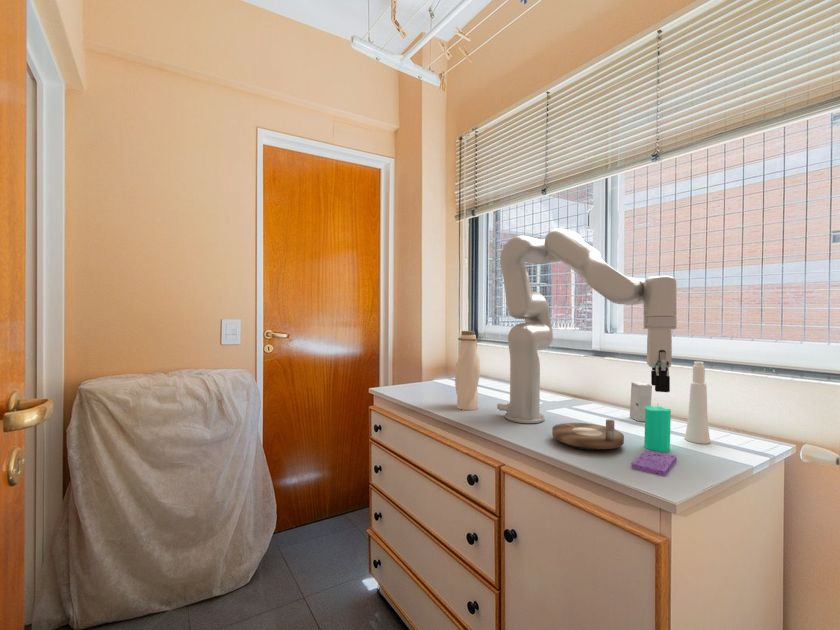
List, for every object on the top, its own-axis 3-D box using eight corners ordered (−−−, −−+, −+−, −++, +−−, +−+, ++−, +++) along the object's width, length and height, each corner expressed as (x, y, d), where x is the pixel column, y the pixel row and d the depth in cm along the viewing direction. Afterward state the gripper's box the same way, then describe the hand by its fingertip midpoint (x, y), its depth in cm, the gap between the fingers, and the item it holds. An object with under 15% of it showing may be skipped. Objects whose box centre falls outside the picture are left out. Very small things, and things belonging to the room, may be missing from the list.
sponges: (676, 463, 101) (677, 455, 101) (665, 478, 92) (665, 470, 92) (644, 456, 106) (644, 448, 106) (630, 470, 96) (630, 462, 96)
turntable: (538, 432, 118) (538, 409, 118) (586, 425, 126) (586, 403, 126) (587, 452, 102) (588, 425, 102) (639, 443, 109) (639, 418, 109)
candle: (673, 452, 107) (674, 405, 107) (648, 450, 108) (649, 404, 108) (665, 445, 113) (666, 400, 113) (640, 443, 114) (641, 399, 114)
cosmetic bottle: (681, 439, 117) (682, 361, 117) (688, 435, 121) (690, 360, 121) (706, 445, 113) (708, 364, 112) (713, 441, 117) (715, 362, 116)
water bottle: (455, 403, 160) (456, 330, 159) (479, 404, 158) (480, 330, 158) (454, 410, 149) (454, 331, 149) (479, 411, 148) (480, 332, 148)
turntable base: (561, 446, 111) (561, 441, 111) (565, 434, 122) (565, 429, 122) (611, 453, 106) (611, 447, 106) (611, 439, 117) (611, 434, 117)
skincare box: (629, 416, 142) (629, 381, 142) (642, 417, 142) (643, 381, 142) (637, 421, 136) (638, 384, 136) (651, 422, 136) (652, 384, 135)
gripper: (641, 322, 119) (641, 382, 119) (646, 324, 104) (646, 393, 104) (671, 322, 116) (672, 384, 116) (681, 324, 100) (682, 395, 101)
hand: (660, 388), depth 110 cm, fingers open, 9 cm apart
